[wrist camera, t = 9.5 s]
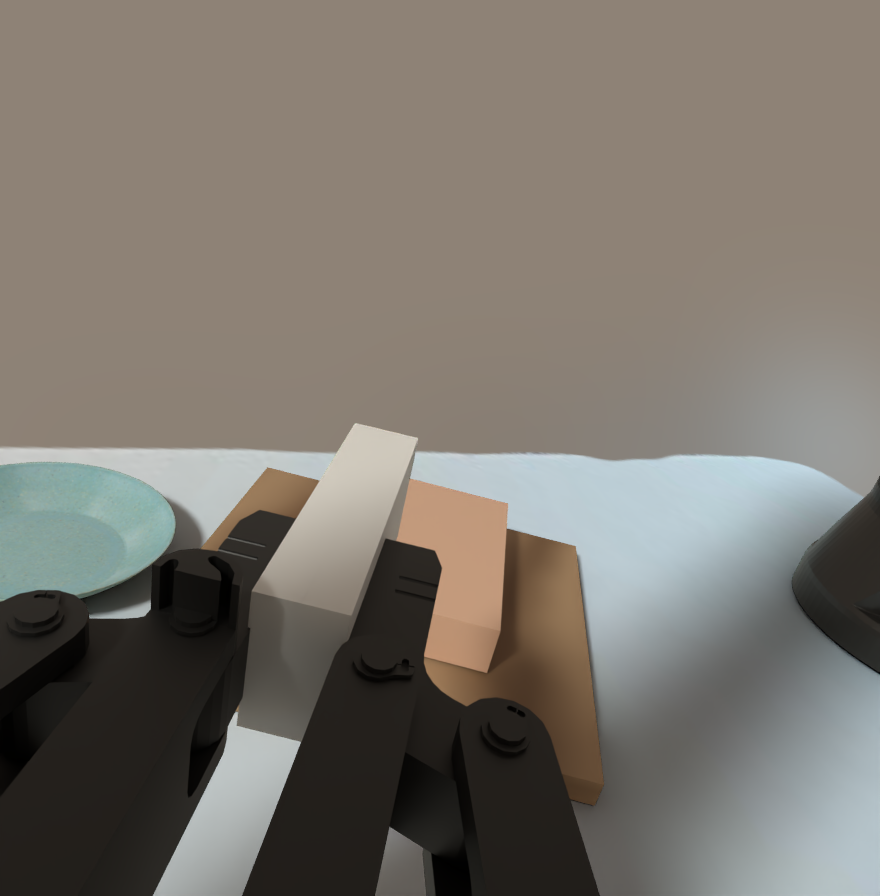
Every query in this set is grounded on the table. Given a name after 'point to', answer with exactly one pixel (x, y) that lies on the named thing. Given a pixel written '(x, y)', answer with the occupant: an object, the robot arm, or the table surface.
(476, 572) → the tile
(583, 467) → the table surface
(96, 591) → the saucer
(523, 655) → the board
